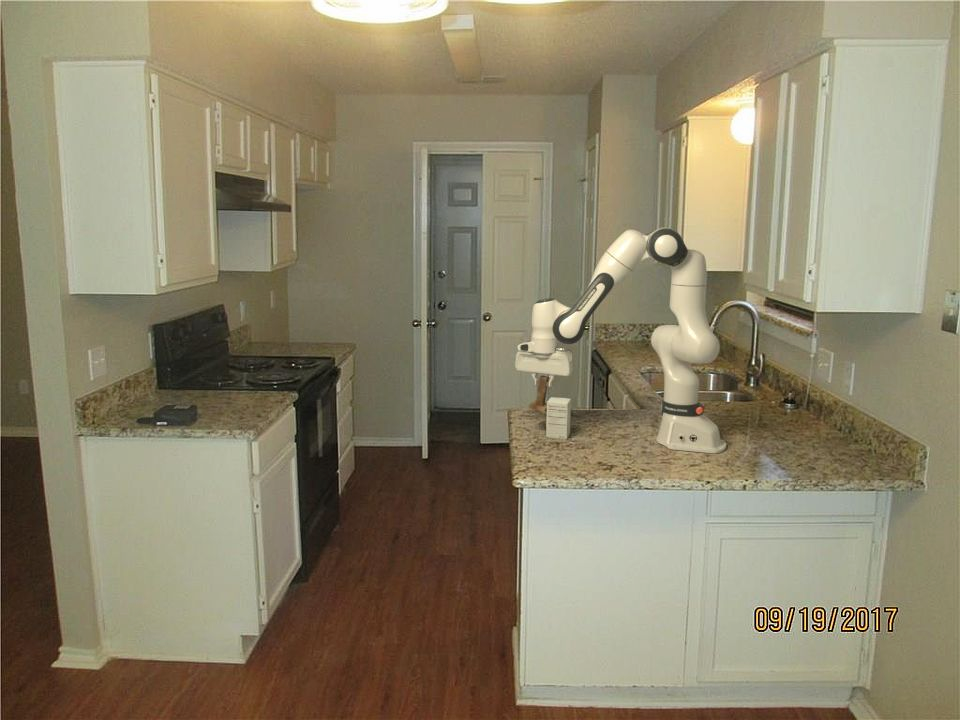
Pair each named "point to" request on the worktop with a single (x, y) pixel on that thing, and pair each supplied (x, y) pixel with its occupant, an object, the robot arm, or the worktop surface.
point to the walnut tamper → (540, 396)
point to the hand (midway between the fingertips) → (543, 386)
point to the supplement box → (558, 418)
